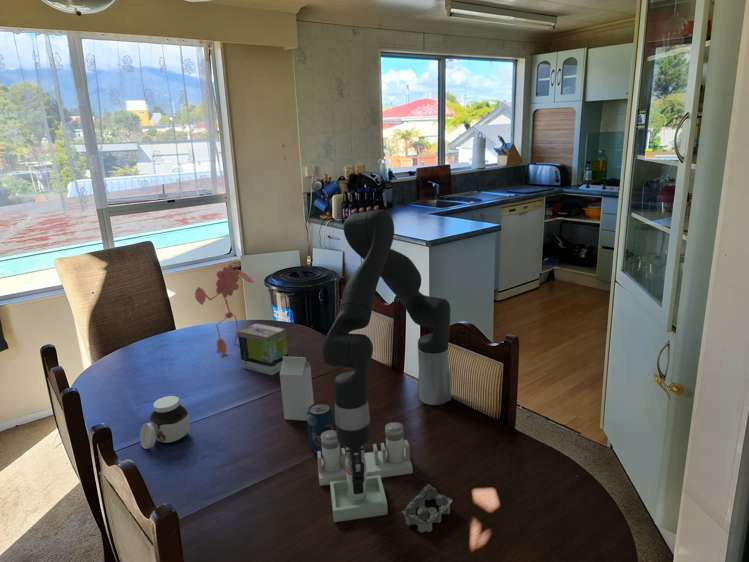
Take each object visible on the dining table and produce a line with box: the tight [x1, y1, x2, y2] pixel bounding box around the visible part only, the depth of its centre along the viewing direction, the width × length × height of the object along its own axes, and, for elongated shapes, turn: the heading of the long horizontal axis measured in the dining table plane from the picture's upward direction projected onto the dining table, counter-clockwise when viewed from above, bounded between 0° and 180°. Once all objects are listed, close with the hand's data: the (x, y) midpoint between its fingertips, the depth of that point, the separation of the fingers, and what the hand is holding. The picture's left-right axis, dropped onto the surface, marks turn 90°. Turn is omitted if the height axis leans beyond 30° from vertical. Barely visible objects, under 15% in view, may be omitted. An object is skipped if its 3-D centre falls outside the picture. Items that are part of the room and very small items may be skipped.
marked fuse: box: [345, 457, 367, 501], centre depth 120 cm, size 5×5×9 cm
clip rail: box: [316, 439, 414, 487], centre depth 133 cm, size 23×8×6 cm, turn 98°
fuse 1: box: [321, 429, 342, 473], centre depth 131 cm, size 5×5×9 cm
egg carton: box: [400, 483, 453, 533], centre depth 116 cm, size 11×8×4 cm
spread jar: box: [139, 395, 191, 450], centre depth 149 cm, size 12×11×12 cm
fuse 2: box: [384, 421, 405, 464], centre depth 133 cm, size 5×5×9 cm
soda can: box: [306, 402, 335, 455], centre depth 142 cm, size 7×7×12 cm
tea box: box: [237, 322, 289, 376], centre depth 193 cm, size 15×10×15 cm
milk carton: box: [279, 356, 315, 422], centre depth 158 cm, size 7×7×19 cm
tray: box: [329, 475, 389, 523], centre depth 121 cm, size 12×10×3 cm
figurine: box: [194, 263, 254, 359], centre depth 205 cm, size 15×26×35 cm, turn 148°
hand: (357, 485), depth 120 cm, fingers closed on marked fuse, 4 cm apart
